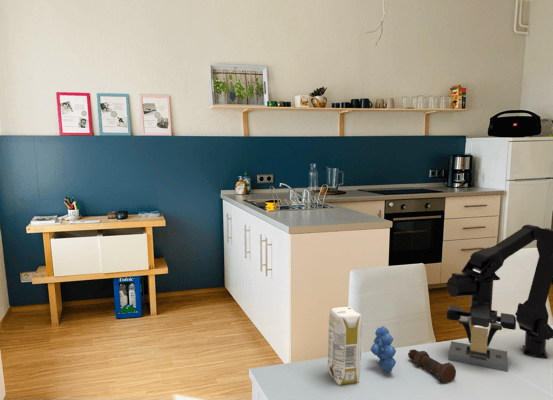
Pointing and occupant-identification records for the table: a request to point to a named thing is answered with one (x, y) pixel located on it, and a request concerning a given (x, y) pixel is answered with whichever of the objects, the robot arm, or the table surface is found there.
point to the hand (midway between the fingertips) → (478, 344)
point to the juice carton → (344, 345)
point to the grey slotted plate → (495, 362)
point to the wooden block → (479, 340)
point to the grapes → (384, 349)
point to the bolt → (433, 365)
